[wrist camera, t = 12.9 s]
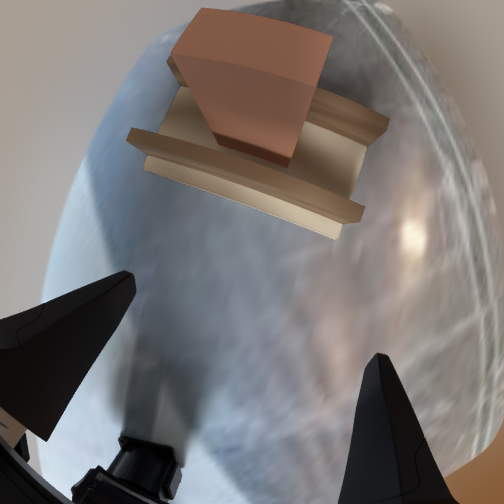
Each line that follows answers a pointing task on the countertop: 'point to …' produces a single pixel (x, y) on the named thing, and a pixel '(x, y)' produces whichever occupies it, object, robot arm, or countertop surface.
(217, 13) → the salmon orange rectangular block
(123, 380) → the countertop surface
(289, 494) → the countertop surface
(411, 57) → the countertop surface
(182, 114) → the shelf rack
